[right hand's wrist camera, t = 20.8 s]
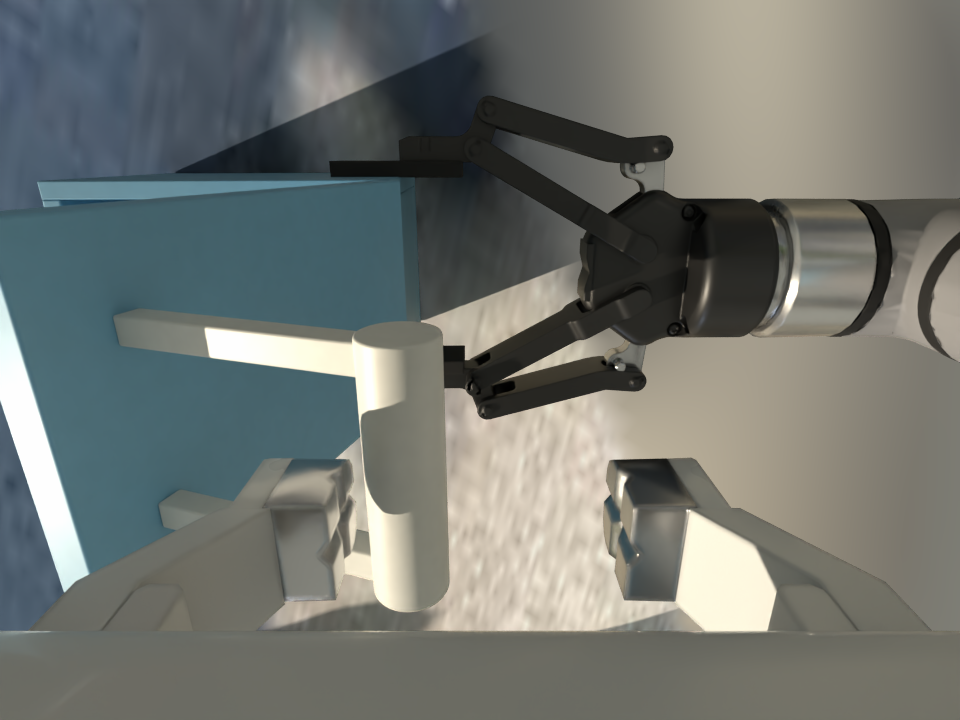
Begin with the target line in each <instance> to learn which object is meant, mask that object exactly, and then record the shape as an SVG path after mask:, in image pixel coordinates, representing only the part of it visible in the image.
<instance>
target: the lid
mask: <svg viewBox="0 0 960 720" xmlns="http://www.w3.org/2000/svg"><path fill="white" fill-rule="evenodd" d="M0 401H1V404H2V407H3V410H4V413H5V416H6V419H7V422H8V425H9V428H10V431H11V434H12V437H13V440H14V443H15V446H16V449H17V452H18V455H19V458H20V461H21V464H22V467H23V470H24V473H25V476H26V479H27V482H28V485H29V488H30V491H31V494H32V497H33V500H34V503H35V506H36V509H37V512H38V515H39V518H40V521H41V524H42V527H43V530H44V533H45V536H46V539H47V542H48V545H49V548H50V551H51V554H52V557H53V560H54V563H55V566H56V569H57V572H58V575H59V578H60V581H61V584H62V587H63V590H64V593H65V592H66V591H67V590H68V589H69V588H70V586H71V585H72V584H73V583H74V582H75V581H77V580H79V579H81V578H83V577H85V576H87V575H89V574H91V573H93V572H95V571H97V570H99V569H101V568H103V567H105V566H107V565H109V564H111V563H113V562H115V561H117V560H119V559H121V558H123V557H125V556H127V555H129V554H131V553H133V552H134V551H136V550H138V549H140V548H142V547H144V546H146V545H148V544H150V543H152V542H154V541H156V540H158V539H160V538H162V537H164V536H166V535H168V534H170V533H172V532H174V531H176V530H178V529H180V528H182V527H184V526H186V525H188V524H190V523H192V522H194V521H196V520H198V519H200V518H202V517H204V516H206V515H208V514H210V513H212V512H214V511H216V510H218V509H219V508H229V507H230V506H231V504H232V503H233V501H234V500H235V499H236V497H237V496H238V495H239V493H240V492H241V490H242V489H243V488H244V486H245V485H246V484H247V482H248V481H249V479H250V478H251V477H252V475H253V474H254V472H255V471H256V470H257V468H258V467H259V466H260V464H261V463H262V461H263V460H265V459H269V458H294V459H296V458H299V459H336V458H337V457H338V456H339V455H340V454H341V453H342V452H343V451H345V450H346V449H347V448H348V447H349V446H350V445H351V444H353V443H354V442H355V441H356V440H357V439H358V438H359V437H360V436H361V447H362V458H363V470H364V481H365V492H366V504H367V515H368V527H369V532H366V531H361V530H357V529H356V535H355V542H354V546H353V549H352V552H351V554H350V555H349V556H348V557H346V558H345V559H344V564H345V574H348V575H352V576H356V577H360V578H364V579H368V580H372V581H373V584H374V592H375V595H376V597H377V599H378V600H379V601H380V602H381V603H382V604H383V605H384V606H386V607H387V608H389V609H392V610H395V611H399V612H416V611H421V610H424V609H427V608H429V607H431V606H433V605H434V604H436V603H437V602H439V601H440V600H441V599H442V598H443V596H444V595H445V593H446V592H447V590H448V587H449V545H448V509H447V473H446V437H445V401H444V365H443V334H442V331H441V330H440V329H439V328H438V327H436V326H433V325H430V324H426V323H421V322H413V321H407V314H406V294H405V275H404V255H403V235H402V216H401V196H400V182H399V181H398V180H373V181H361V182H349V183H336V184H324V185H312V186H300V187H287V188H275V189H263V190H251V191H238V192H226V193H214V194H202V195H189V196H177V197H165V198H153V199H140V200H128V201H116V202H104V203H92V204H79V205H67V206H55V207H43V208H30V209H18V210H6V211H0Z"/></svg>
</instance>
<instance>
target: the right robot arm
mask: <svg viewBox="0 0 960 720" xmlns="http://www.w3.org/2000/svg"><path fill="white" fill-rule="evenodd" d="M353 482H354V477H353V469H352V464H351V462H350V460H349V459H299V458H296V459H294V458H269V459H265V460H263V461H262V463H261V464H260V466H259V467H258V468H257V470H256V471H255V472H254V474H253V475H252V477H251V478H250V479H249V481H248V482H247V484H246V485H245V486H244V488H243V489H242V490H241V492H240V493H239V495H238V496H237V497H236V499H235V500H234V501H233V503H232V504H231V506H230V507H229V508H219V509H218V510H216V511H214V512H212V513H210V514H208V515H206V516H204V517H202V518H200V519H198V520H196V521H194V522H192V523H190V524H188V525H186V526H184V527H182V528H180V529H178V530H176V531H174V532H172V533H170V534H168V535H166V536H164V537H162V538H160V539H158V540H156V541H154V542H152V543H150V544H148V545H146V546H144V547H142V548H140V549H138V550H136V551H134V552H133V553H131V554H129V555H127V556H125V557H123V558H121V559H119V560H117V561H115V562H113V563H111V564H109V565H107V566H105V567H103V568H101V569H99V570H97V571H95V572H93V573H91V574H89V575H87V576H85V577H83V578H81V579H79V580H77V581H75V582H74V583H73V584H72V585H71V586H70V588H69V589H68V590H67V591H66V592H65V593H64V594H63V595H62V596H61V597H60V598H59V599H58V600H57V601H56V602H55V603H54V604H53V605H52V606H51V607H50V608H49V609H48V610H47V611H46V613H45V614H44V615H43V616H42V617H41V618H40V619H39V620H38V621H37V622H36V623H35V624H34V625H33V626H32V627H31V628H30V629H29V630H28V631H0V720H960V631H932V630H931V629H930V628H929V627H928V626H927V625H926V624H925V623H924V622H923V621H922V620H921V619H920V618H919V617H918V616H917V615H916V613H915V612H914V611H913V610H912V609H911V608H910V607H909V606H908V605H907V604H906V603H905V602H904V601H903V600H902V599H901V598H900V597H899V596H898V595H897V594H896V592H895V591H894V590H893V589H892V588H891V587H890V586H889V585H888V584H887V583H886V582H884V581H882V580H880V579H878V578H876V577H874V576H872V575H870V574H868V573H867V572H865V571H863V570H861V569H859V568H857V567H855V566H853V565H851V564H849V563H847V562H845V561H843V560H841V559H839V558H837V557H835V556H833V555H831V554H829V553H827V552H825V551H823V550H821V549H819V548H817V547H815V546H813V545H811V544H809V543H807V542H805V541H803V540H802V539H800V538H798V537H796V536H794V535H792V534H790V533H788V532H786V531H784V530H782V529H780V528H778V527H776V526H774V525H772V524H770V523H768V522H766V521H764V520H762V519H760V518H758V517H756V516H754V515H752V514H750V513H748V512H746V511H744V510H742V509H740V508H731V507H730V506H729V505H728V503H727V502H726V500H725V499H724V498H723V496H722V495H721V493H720V492H719V491H718V489H717V488H716V487H715V485H714V484H713V483H712V481H711V480H710V478H709V477H708V476H707V474H706V473H705V472H704V470H703V469H702V467H701V466H700V465H699V463H698V462H697V461H696V460H695V459H693V458H674V459H628V460H610V461H609V464H608V468H607V476H606V482H607V485H608V488H609V490H610V493H611V495H610V496H609V497H608V498H607V499H606V500H605V501H604V511H603V527H604V537H605V542H606V546H607V549H608V552H609V554H610V555H611V556H612V557H614V558H615V559H616V563H615V574H616V577H617V580H618V583H619V586H620V589H621V592H622V595H623V598H624V600H636V601H673V602H675V604H676V605H677V606H678V607H679V608H680V609H681V610H682V611H683V612H685V613H686V614H687V615H688V616H689V617H690V618H691V619H692V620H693V621H694V622H696V623H697V624H698V625H699V626H700V627H701V628H702V629H703V630H704V631H256V630H257V629H258V628H259V627H260V626H261V625H263V624H264V623H265V622H266V621H267V620H268V619H269V618H270V617H271V616H272V615H273V614H275V613H276V612H277V611H278V610H279V609H280V608H281V607H282V606H283V605H284V604H285V603H284V602H287V601H322V600H336V598H337V595H338V592H339V589H340V586H341V583H342V580H343V577H344V574H345V564H344V559H345V558H346V557H348V556H349V555H350V554H351V552H352V549H353V546H354V542H355V535H356V528H357V510H356V501H355V500H354V499H353V498H352V497H351V496H350V495H349V493H350V490H351V487H352V485H353Z"/></svg>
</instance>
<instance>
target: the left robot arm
mask: <svg viewBox="0 0 960 720" xmlns="http://www.w3.org/2000/svg"><path fill="white" fill-rule="evenodd" d="M495 129H499V130H503V131H506V132H509V133H512V134H516V135H519V136H522V137H526V138H529V139H532V140H535V141H539V142H542V143H545V144H548V145H552V146H555V147H558V148H562V149H565V150H568V151H571V152H575V153H578V154H581V155H584V156H588V157H591V158H594V159H598V160H601V161H606V162H613V163H620V171H621V173H622V175H623V176H624V177H626V178H629V179H633V180H635V181H636V182H637V183H638V184H639V187H640V191H639V192H638V193H636V194H635V195H633V196H632V197H631V198H629V199H628V200H626V201H625V202H624V203H622V204H621V205H619V206H618V207H616V208H615V209H614V210H612V211H611V212H609V213H608V214H607V213H605V212H603V211H602V210H600V209H598V208H597V207H595V206H593V205H592V204H590V203H588V202H586V201H585V200H583V199H581V198H580V197H578V196H576V195H575V194H573V193H571V192H570V191H568V190H566V189H565V188H563V187H561V186H560V185H558V184H557V183H555V182H553V181H552V180H550V179H548V178H547V177H545V176H543V175H542V174H540V173H538V172H537V171H535V170H533V169H532V168H530V167H529V166H527V165H525V164H524V163H522V162H520V161H519V160H517V159H515V158H514V157H512V156H510V155H509V154H507V153H505V152H504V151H502V150H501V149H499V148H497V147H496V146H494V145H492V144H491V141H492V138H493V135H494V132H495ZM672 151H673V142H672V141H671V139H670V138H669V137H667V136H663V135H659V136H647V137H635V138H626V137H622V136H619V135H616V134H613V133H610V132H606V131H603V130H600V129H597V128H593V127H590V126H587V125H584V124H581V123H577V122H574V121H571V120H568V119H565V118H561V117H558V116H555V115H552V114H549V113H545V112H542V111H539V110H536V109H533V108H529V107H526V106H523V105H520V104H516V103H513V102H510V101H507V100H504V99H500V98H497V97H494V96H486V97H483V98H482V99H481V100H480V101H479V103H478V105H477V108H476V111H475V114H474V117H473V120H472V123H471V126H470V128H469V130H468V131H467V132H466V133H465V134H463V135H461V136H409V137H406V138H404V139H402V140H399V153H400V161H329V163H330V175H331V177H456V178H462V177H463V162H472V163H474V164H476V165H477V166H479V167H481V168H483V169H484V170H486V171H488V172H489V173H491V174H493V175H494V176H496V177H498V178H499V179H501V180H503V181H504V182H506V183H508V184H509V185H511V186H513V187H514V188H516V189H518V190H519V191H521V192H523V193H525V194H526V195H528V196H530V197H531V198H533V199H535V200H536V201H538V202H540V203H541V204H543V205H545V206H546V207H548V208H550V209H551V210H553V211H555V212H556V213H558V214H560V215H561V216H563V217H565V218H566V219H568V220H570V221H572V222H573V223H575V224H577V225H578V226H580V227H581V228H583V229H585V230H586V233H585V235H584V238H583V239H581V240H580V256H581V261H582V269H581V272H580V275H579V278H578V288H577V293H578V295H579V296H580V298H578V299H577V300H575V301H573V302H571V303H569V304H568V305H566V306H565V307H564V308H563V309H562V310H561V311H560V312H558V313H556V314H554V315H552V316H550V317H548V318H546V319H545V320H543V321H541V322H539V323H537V324H535V325H533V326H531V327H530V328H528V329H526V330H524V331H522V332H520V333H518V334H516V335H515V336H513V337H511V338H509V339H507V340H505V341H503V342H501V343H500V344H498V345H496V346H494V347H492V348H490V349H488V350H486V351H485V352H483V353H481V354H479V355H477V356H475V357H473V358H471V359H470V360H465V346H443V365H444V388H463V389H466V391H467V393H468V394H469V395H471V396H472V397H473V399H474V402H475V404H476V407H477V412H478V414H479V416H480V417H481V418H483V419H493V418H497V417H501V416H504V415H508V414H512V413H516V412H520V411H524V410H528V409H532V408H536V407H540V406H544V405H547V404H551V403H555V402H559V401H563V400H567V399H571V398H575V397H579V396H583V395H586V394H590V393H594V392H598V391H602V390H619V391H639V390H641V389H643V388H644V387H645V384H646V377H645V375H644V374H643V373H642V365H643V359H644V354H645V349H646V345H648V344H650V343H652V342H654V341H656V340H658V339H661V338H665V337H742V336H745V335H747V334H748V333H749V334H751V335H752V336H755V337H802V336H830V337H841V336H869V337H896V338H903V339H907V340H911V341H913V342H915V343H918V344H920V345H923V346H925V347H927V348H930V349H932V350H934V351H937V352H939V353H941V354H943V355H945V356H947V357H949V358H951V359H953V360H955V361H958V362H960V198H959V199H900V200H854V199H766V200H763V201H761V202H757V201H755V200H753V199H681V198H676V197H673V196H672V195H670V194H669V193H667V192H665V191H664V170H665V160H666V159H667V158H669V157H670V155H671V154H672ZM607 328H611V329H612V330H613V331H615V332H616V333H617V334H619V335H620V336H622V337H623V338H624V339H625V341H624V343H623V344H622V345H621V346H620V347H617V348H612V349H610V350H608V351H607V352H606V353H605V355H604V356H597V357H590V358H585V359H581V360H577V361H573V362H570V363H566V364H562V365H558V366H554V367H550V368H547V369H543V370H539V371H535V372H531V373H528V374H524V375H520V376H516V377H512V378H508V379H505V380H502V379H504V378H506V377H508V376H510V375H512V374H514V373H515V372H517V371H519V370H521V369H523V368H525V367H527V366H529V365H531V364H533V363H535V362H537V361H539V360H540V359H542V358H544V357H546V356H548V355H550V354H552V353H554V352H556V351H558V350H560V349H562V348H563V347H565V346H567V345H569V344H571V343H573V342H575V341H577V340H585V339H588V338H590V337H592V336H594V335H596V334H598V333H599V332H601V331H603V330H605V329H607ZM500 380H501V381H500Z"/></svg>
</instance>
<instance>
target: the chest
mask: <svg viewBox="0 0 960 720" xmlns="http://www.w3.org/2000/svg"><path fill="white" fill-rule="evenodd" d="M373 180H398V181H399V182H400V196H401V216H402V235H403V255H404V275H405V294H406V314H407V321H413V322H421V313H420V289H419V265H418V241H417V217H416V193H415V177H331V175H330V173H168V174H151V175H133V176H116V177H98V178H81V179H63V180H46V181H38V186H39V190H40V194H41V197H42V199H43V204H44V207H55V206H67V205H79V204H92V203H104V202H116V201H128V200H140V199H153V198H165V197H177V196H189V195H202V194H214V193H226V192H238V191H251V190H263V189H275V188H287V187H300V186H312V185H324V184H336V183H349V182H361V181H373Z"/></svg>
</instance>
